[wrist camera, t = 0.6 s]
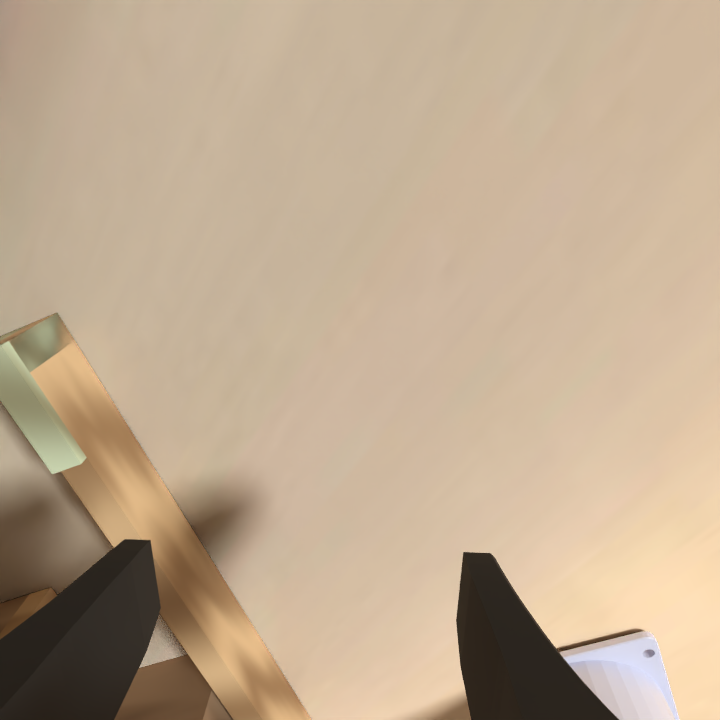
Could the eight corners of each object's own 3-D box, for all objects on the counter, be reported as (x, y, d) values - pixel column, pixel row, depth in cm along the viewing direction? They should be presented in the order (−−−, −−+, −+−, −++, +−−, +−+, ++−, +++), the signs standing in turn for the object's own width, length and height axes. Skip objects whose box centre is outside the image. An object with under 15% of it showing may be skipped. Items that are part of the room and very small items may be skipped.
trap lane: (313, 723, 29) (306, 795, 26) (65, 784, 32) (31, 856, 29) (56, 312, 21) (0, 345, 18) (-247, 439, 24) (-342, 487, 21)
